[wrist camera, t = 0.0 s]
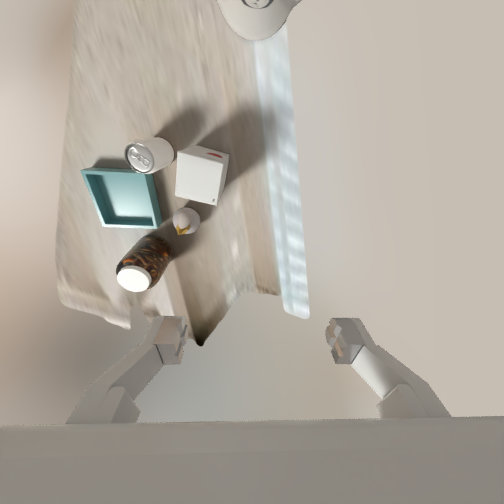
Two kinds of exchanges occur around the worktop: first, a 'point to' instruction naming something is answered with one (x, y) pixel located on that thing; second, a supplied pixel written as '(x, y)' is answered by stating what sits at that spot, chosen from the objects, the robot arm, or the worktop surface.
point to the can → (149, 154)
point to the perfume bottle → (186, 220)
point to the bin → (123, 197)
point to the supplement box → (201, 174)
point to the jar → (144, 264)
